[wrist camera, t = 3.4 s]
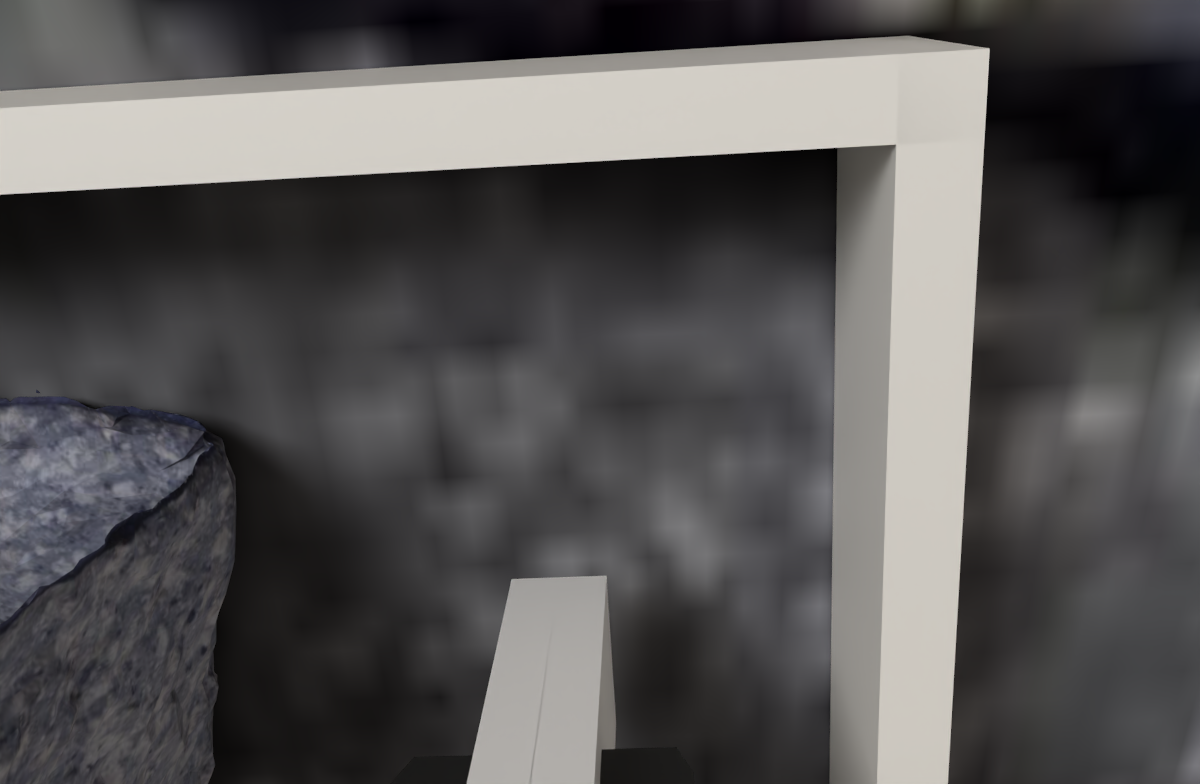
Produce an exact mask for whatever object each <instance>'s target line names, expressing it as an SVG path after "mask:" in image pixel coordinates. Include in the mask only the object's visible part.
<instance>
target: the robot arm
mask: <svg viewBox="0 0 1200 784" xmlns="http://www.w3.org/2000/svg"><path fill="white" fill-rule="evenodd" d="M615 739H616V712H615V697H614V682H613V667H612V652H611V636H610V621H609V606H608V591H607V576H584V577H557V578H529V579H512V580H511V585H510V589H509V594H508V598H507V603H506V607H505V612H504V616H503V621H502V625H501V630H500V634H499V639H498V643H497V648H496V653H495V657H494V662H493V666H492V671H491V675H490V680H489V684H488V689H487V693H486V698H485V702H484V707H483V711H482V716H481V720H480V725H479V729H478V734H477V739H476V743H475V748H474V752H473V755H472V756H436V757H414V758H413V759H412V760H411V761H410V762H409V764H408V765H407V766H406V767H405V768H404V769H403V770H402V771H401V773H400V774H399V775H398V776H397V777H396V778H395V779H394V780H393V782H392V783H391V784H694V773H693V771H692V770H691V768H690V767H689V765H688V764H687V762H686V761H685V760H684V758H683V757H682V755H681V754H680V752H679V751H678V749H677V748H676V747H670V748H634V749H615Z"/></svg>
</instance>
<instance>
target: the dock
mask: <svg viewBox="0 0 1200 784" xmlns="http://www.w3.org/2000/svg"><path fill="white" fill-rule="evenodd" d="M989 51H990V49H989V48H982V47H976V46H970V45H963V44H957V43H951V42H944V41H938V40H932V39H925V38H919V37H912V36H896V37H880V38H864V39H847V40H831V41H815V42H798V43H782V44H765V45H749V46H733V47H716V48H700V49H684V50H667V51H651V52H634V53H618V54H602V55H585V56H569V57H553V58H536V59H520V60H504V61H487V62H471V63H454V64H438V65H422V66H405V67H389V68H373V69H356V70H340V71H323V72H307V73H291V74H274V75H258V76H242V77H225V78H209V79H192V80H176V81H160V82H143V83H127V84H111V85H94V86H78V87H62V88H45V89H29V90H12V91H0V195H3V194H21V193H39V192H57V191H75V190H92V189H110V188H128V187H146V186H164V185H182V184H200V183H217V182H235V181H253V180H271V179H289V178H307V177H325V176H343V175H360V174H378V173H396V172H414V171H432V170H450V169H468V168H485V167H503V166H521V165H539V164H557V163H575V162H593V161H611V160H628V159H646V158H664V157H682V156H700V155H718V154H736V153H753V152H771V151H789V150H807V149H825V148H837V223H836V302H835V382H834V462H833V541H832V621H831V700H830V780H829V784H948V772H949V754H950V737H951V719H952V702H953V684H954V666H955V649H956V631H957V614H958V596H959V578H960V561H961V543H962V526H963V508H964V491H965V473H966V455H967V438H968V420H969V403H970V385H971V367H972V350H973V332H974V315H975V297H976V279H977V262H978V244H979V227H980V209H981V191H982V174H983V156H984V139H985V121H986V103H987V86H988V68H989Z"/></svg>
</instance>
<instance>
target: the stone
mask: <svg viewBox="0 0 1200 784" xmlns="http://www.w3.org/2000/svg"><path fill="white" fill-rule="evenodd" d="M36 393H40V392H39V391H37V390H36ZM235 536H236V483H235V476H234V473H233V471H232V468H231V466H230V464H229V461H228V459H227V456H226V453H225V447H224V444H223V440H222V438H220V437H218V436H216V435H214V434H212V433H210V432H208V431H206V430H205V427H204V426H203V425H202V424H201V423H200V422H198V421H196V420H194V419H192V418H189V417H186V416H183V415H180V414H174V413H166V412H161V411H155V410H145V411H143V410H141V409H138V408H135V407H133V406H131V407H125V406H107V407H102V408H99V409H92V408H88V407H86V406H85V405H83V404H81V403H79V402H77V401H75V400H72V399H69V398H66V397H17V398H14V399H13V400H12V401H11V402H9V401H8V400H7V399H0V784H208V783H209V780H210V778H211V775H212V772H213V770H214V767H215V762H214V758H213V734H212V722H213V706H214V704H215V702H216V699H217V693H218V687H219V685H218V683H217V674H216V673H215V672H214V654H213V650H214V647H215V644H216V620H217V617H218V614H219V611H220V608H221V605H222V603H223V600H224V597H225V595H226V592H227V588H228V585H229V581H230V577H231V573H232V569H233V565H234V561H235Z"/></svg>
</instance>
